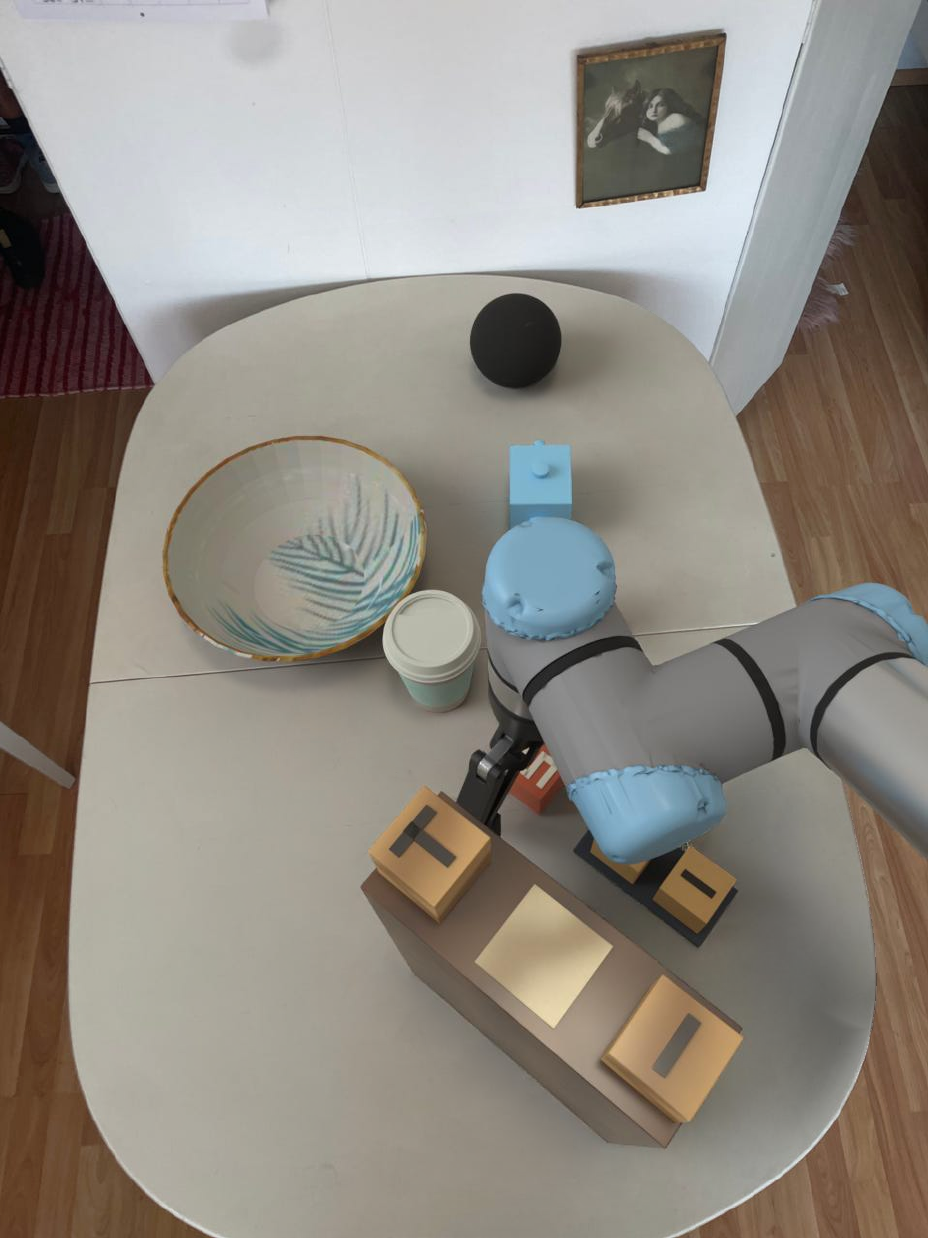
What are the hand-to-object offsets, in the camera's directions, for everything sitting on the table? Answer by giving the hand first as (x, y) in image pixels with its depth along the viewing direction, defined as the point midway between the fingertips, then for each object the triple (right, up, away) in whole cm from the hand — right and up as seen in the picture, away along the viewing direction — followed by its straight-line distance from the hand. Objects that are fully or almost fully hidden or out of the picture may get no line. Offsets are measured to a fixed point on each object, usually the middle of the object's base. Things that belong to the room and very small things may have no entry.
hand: (534, 770), depth 87 cm
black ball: (0, +41, +25) cm, 48 cm away
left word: (+10, -8, -2) cm, 13 cm away
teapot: (+2, +24, +15) cm, 29 cm away
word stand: (-1, -19, -7) cm, 20 cm away
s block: (0, -1, +2) cm, 2 cm away
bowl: (-22, +17, +13) cm, 31 cm away
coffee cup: (-9, +7, +7) cm, 13 cm away
